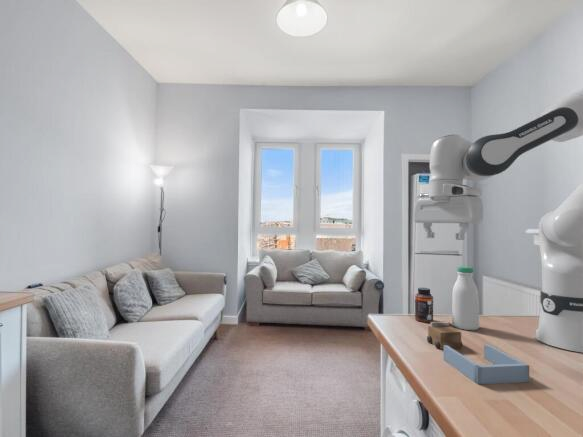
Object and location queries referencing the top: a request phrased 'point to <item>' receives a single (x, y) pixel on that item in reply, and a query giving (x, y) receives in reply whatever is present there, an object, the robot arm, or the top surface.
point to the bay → (489, 366)
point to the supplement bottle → (424, 305)
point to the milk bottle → (465, 300)
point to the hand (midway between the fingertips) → (444, 238)
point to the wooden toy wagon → (444, 335)
